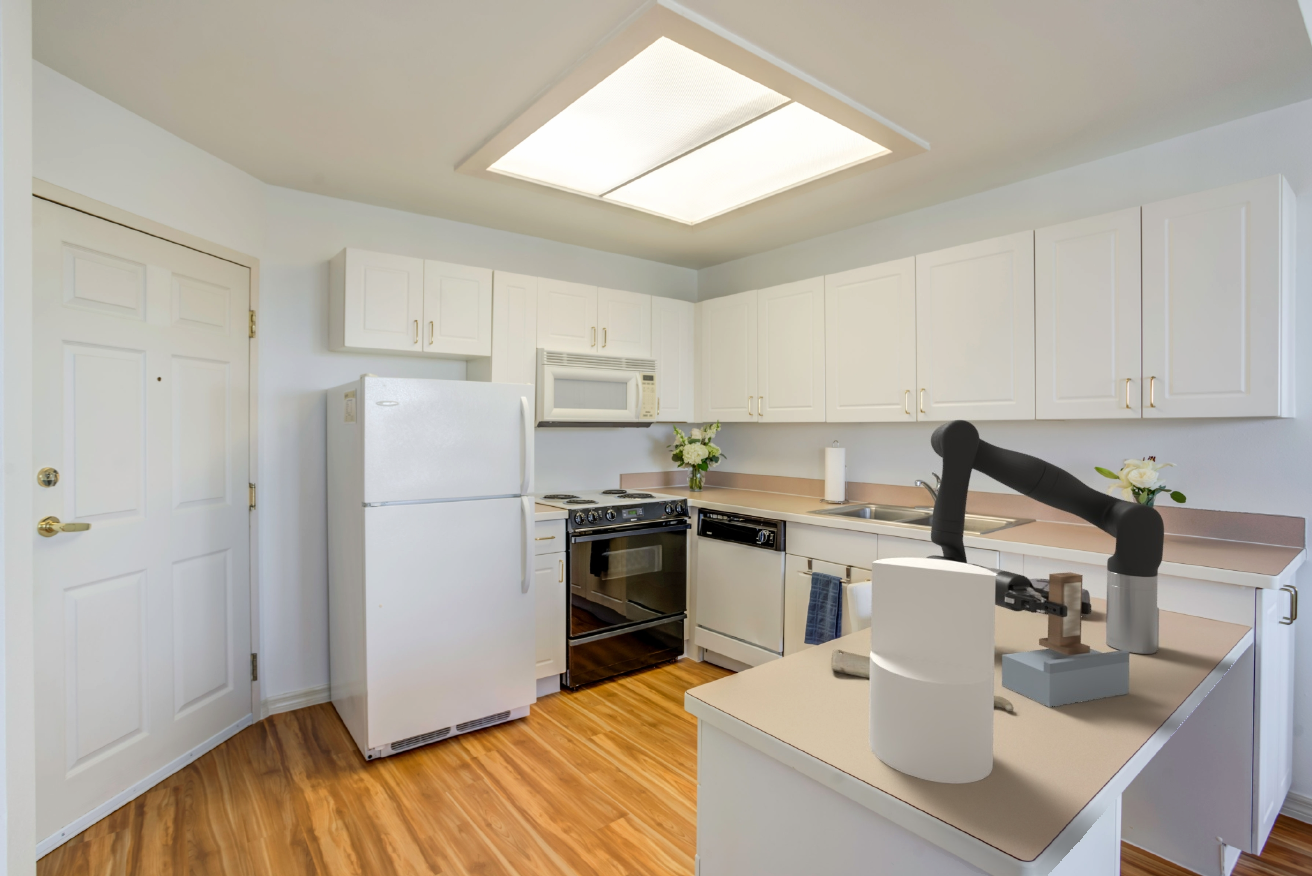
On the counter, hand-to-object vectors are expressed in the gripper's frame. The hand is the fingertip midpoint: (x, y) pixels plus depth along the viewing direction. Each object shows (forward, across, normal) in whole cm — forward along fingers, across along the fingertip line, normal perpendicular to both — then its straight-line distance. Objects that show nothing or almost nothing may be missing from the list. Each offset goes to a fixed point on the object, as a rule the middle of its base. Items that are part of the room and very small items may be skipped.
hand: (1077, 610), depth 117 cm
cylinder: (+9, -42, +16) cm, 46 cm away
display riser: (-2, 0, +16) cm, 16 cm away
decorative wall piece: (-18, -23, +17) cm, 34 cm away
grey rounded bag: (-46, +48, +16) cm, 68 cm away
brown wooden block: (-3, 0, +8) cm, 8 cm away
